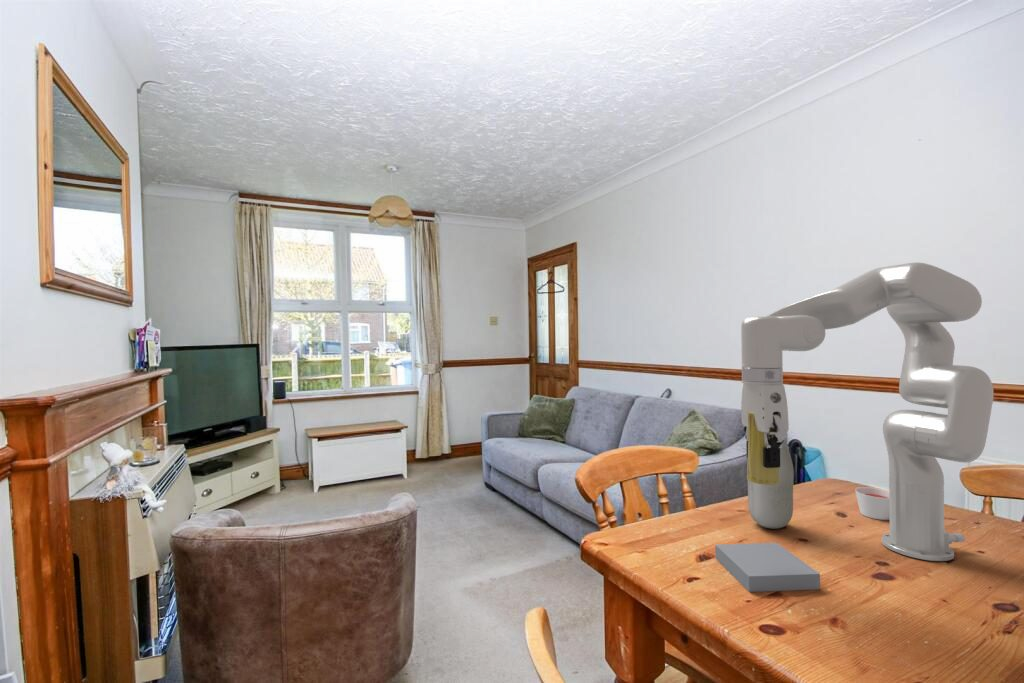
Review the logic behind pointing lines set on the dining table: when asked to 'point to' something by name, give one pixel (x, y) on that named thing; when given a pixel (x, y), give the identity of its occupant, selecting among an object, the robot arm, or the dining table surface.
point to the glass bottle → (773, 495)
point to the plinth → (766, 567)
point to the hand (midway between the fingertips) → (762, 462)
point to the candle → (873, 502)
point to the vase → (758, 456)
